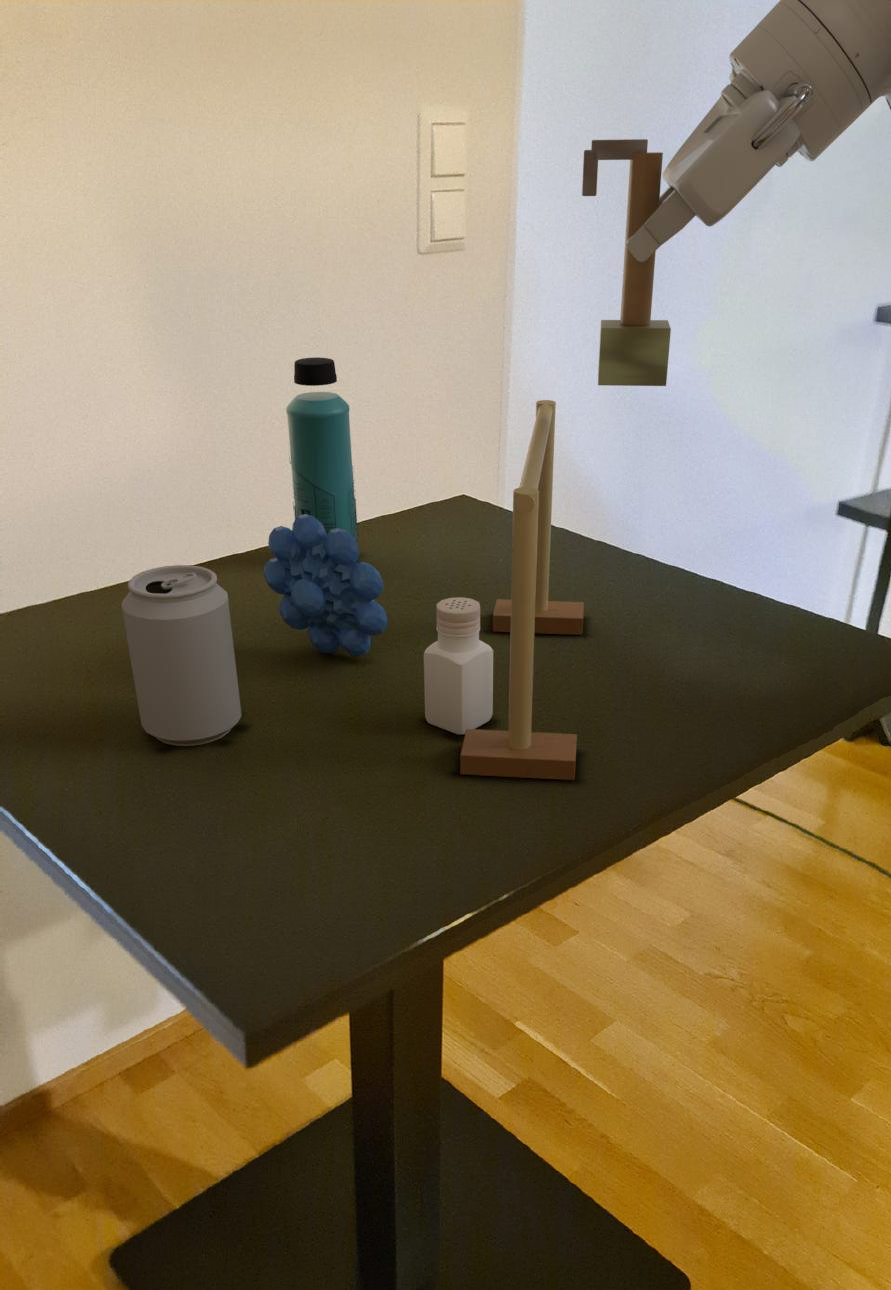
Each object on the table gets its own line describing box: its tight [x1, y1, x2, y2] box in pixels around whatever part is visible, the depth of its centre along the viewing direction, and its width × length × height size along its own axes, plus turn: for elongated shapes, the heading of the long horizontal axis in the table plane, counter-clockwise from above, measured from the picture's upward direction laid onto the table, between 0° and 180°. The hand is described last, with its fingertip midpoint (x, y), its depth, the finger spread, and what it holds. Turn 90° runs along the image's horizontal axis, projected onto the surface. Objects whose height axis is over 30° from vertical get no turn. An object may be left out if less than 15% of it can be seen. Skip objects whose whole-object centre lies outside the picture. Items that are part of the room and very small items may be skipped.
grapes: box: [263, 514, 388, 657], centre depth 94 cm, size 12×7×12 cm, turn 64°
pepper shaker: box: [423, 596, 494, 735], centre depth 84 cm, size 4×4×10 cm
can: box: [121, 564, 243, 747], centre depth 83 cm, size 8×8×12 cm
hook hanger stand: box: [581, 138, 672, 387], centre depth 81 cm, size 7×4×16 cm, turn 83°
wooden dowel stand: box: [459, 399, 585, 781], centre depth 87 cm, size 8×30×20 cm, turn 173°
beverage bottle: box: [285, 356, 359, 542], centre depth 114 cm, size 6×7×20 cm
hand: (631, 252), depth 81 cm, fingers closed on hook hanger stand, 2 cm apart
